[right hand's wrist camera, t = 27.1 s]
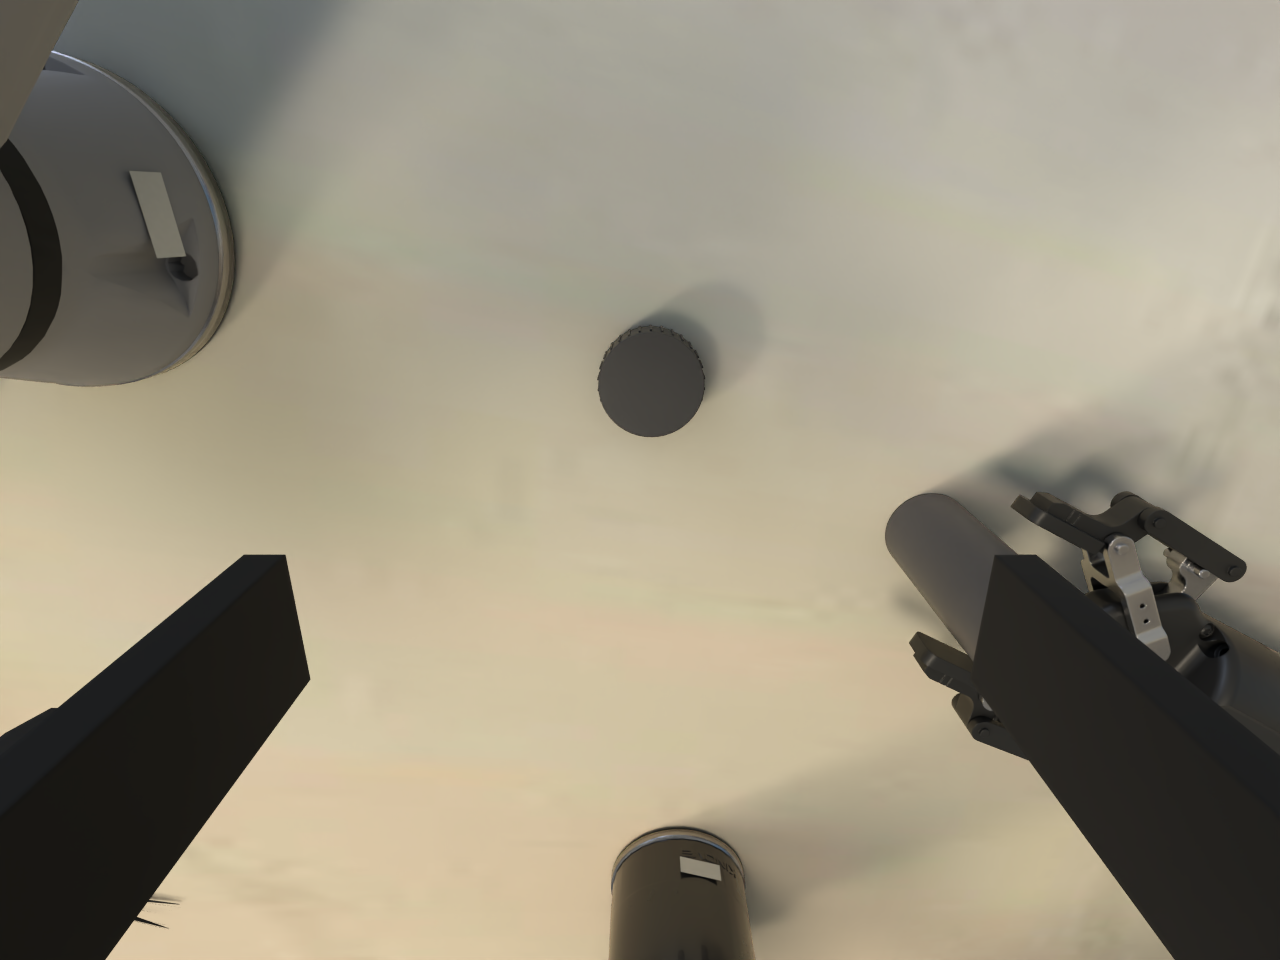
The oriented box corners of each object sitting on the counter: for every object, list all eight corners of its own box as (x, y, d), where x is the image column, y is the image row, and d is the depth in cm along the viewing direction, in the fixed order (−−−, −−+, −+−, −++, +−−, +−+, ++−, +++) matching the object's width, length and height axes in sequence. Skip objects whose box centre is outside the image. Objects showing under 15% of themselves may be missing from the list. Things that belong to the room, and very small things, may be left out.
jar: (956, 571, 40) (1171, 805, 24) (877, 564, 40) (1038, 794, 24) (976, 496, 39) (1223, 692, 22) (894, 489, 38) (1080, 680, 22)
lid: (580, 358, 36) (575, 367, 34) (670, 304, 35) (671, 309, 33) (633, 443, 38) (632, 457, 35) (720, 394, 37) (725, 405, 34)
